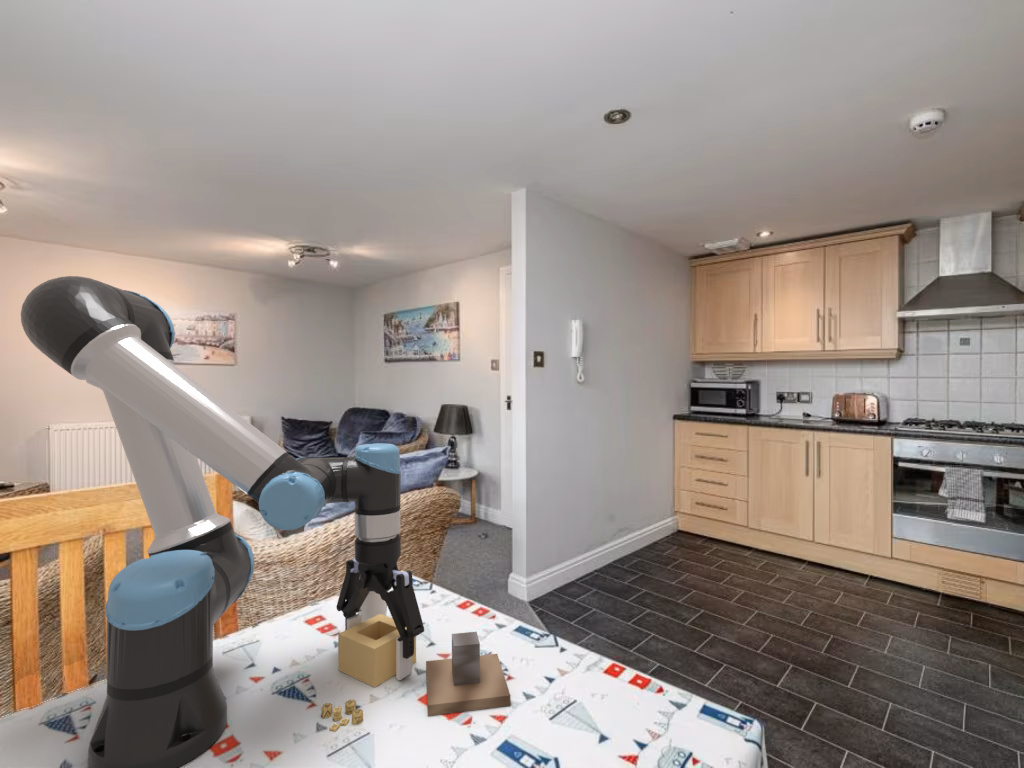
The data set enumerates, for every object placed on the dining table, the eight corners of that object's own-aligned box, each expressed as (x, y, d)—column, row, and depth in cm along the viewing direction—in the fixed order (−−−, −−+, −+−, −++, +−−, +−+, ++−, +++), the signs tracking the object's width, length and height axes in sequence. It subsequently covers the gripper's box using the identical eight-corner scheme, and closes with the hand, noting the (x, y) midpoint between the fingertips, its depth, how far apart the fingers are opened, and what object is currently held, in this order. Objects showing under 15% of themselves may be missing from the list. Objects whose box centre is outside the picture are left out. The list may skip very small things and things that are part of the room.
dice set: (320, 718, 73) (320, 704, 73) (357, 707, 75) (357, 694, 75) (325, 739, 68) (325, 725, 68) (364, 727, 71) (364, 713, 71)
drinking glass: (351, 625, 100) (351, 549, 100) (385, 618, 103) (385, 544, 103) (357, 640, 94) (357, 559, 94) (393, 632, 97) (393, 554, 97)
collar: (374, 687, 79) (374, 649, 79) (338, 670, 84) (338, 633, 84) (415, 661, 86) (415, 626, 87) (380, 647, 91) (380, 613, 92)
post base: (427, 715, 72) (427, 663, 72) (426, 670, 84) (425, 624, 84) (510, 705, 74) (510, 654, 74) (497, 662, 86) (497, 618, 86)
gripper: (446, 541, 82) (446, 675, 82) (350, 520, 95) (350, 636, 95) (412, 554, 76) (413, 699, 75) (315, 530, 89) (315, 653, 89)
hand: (378, 664), depth 85 cm, fingers open, 12 cm apart
